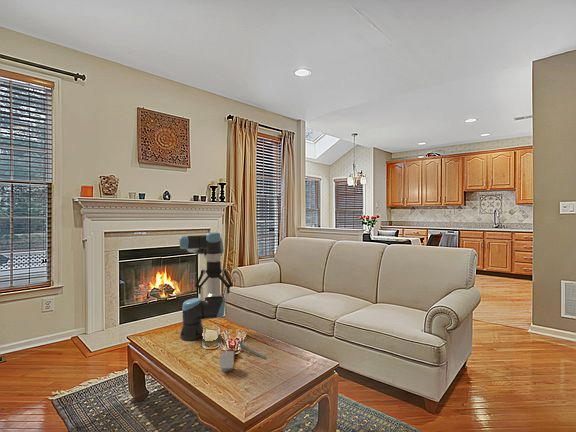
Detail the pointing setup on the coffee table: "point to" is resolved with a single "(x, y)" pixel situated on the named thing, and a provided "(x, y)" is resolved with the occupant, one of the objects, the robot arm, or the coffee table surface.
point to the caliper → (251, 350)
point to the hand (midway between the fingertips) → (214, 299)
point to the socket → (227, 359)
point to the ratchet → (227, 370)
